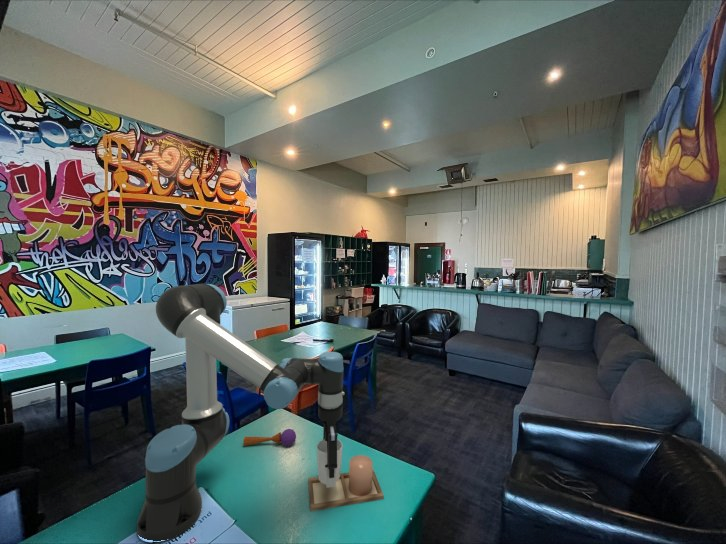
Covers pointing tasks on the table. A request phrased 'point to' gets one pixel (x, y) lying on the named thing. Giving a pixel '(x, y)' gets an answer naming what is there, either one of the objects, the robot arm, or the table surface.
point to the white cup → (323, 460)
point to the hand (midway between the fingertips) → (329, 476)
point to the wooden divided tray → (339, 493)
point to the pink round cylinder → (360, 475)
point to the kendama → (273, 438)
